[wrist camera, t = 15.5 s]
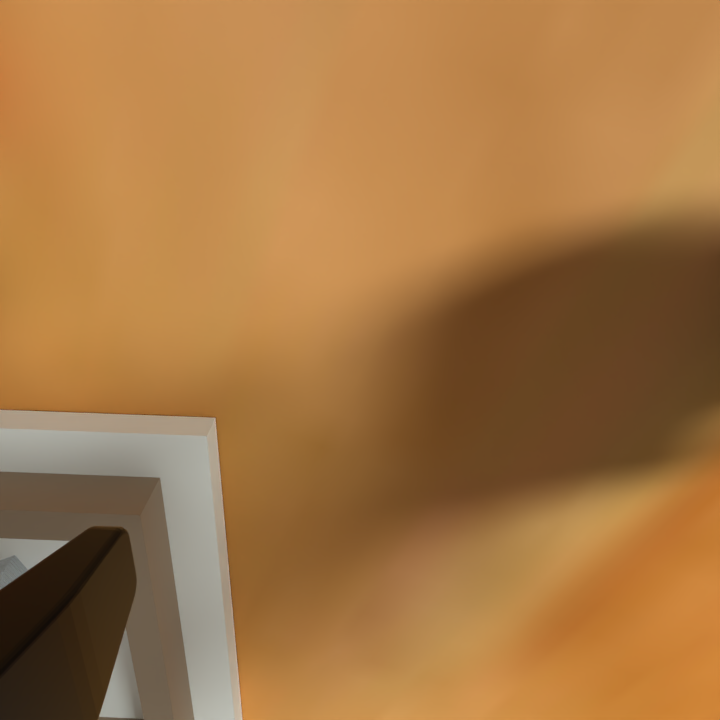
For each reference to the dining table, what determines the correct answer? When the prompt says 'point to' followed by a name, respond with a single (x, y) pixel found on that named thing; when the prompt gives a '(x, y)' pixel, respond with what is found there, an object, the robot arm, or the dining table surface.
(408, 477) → the dining table surface
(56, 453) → the stand
